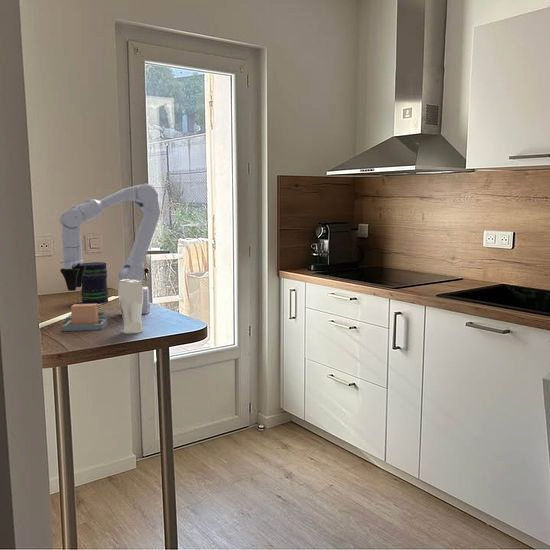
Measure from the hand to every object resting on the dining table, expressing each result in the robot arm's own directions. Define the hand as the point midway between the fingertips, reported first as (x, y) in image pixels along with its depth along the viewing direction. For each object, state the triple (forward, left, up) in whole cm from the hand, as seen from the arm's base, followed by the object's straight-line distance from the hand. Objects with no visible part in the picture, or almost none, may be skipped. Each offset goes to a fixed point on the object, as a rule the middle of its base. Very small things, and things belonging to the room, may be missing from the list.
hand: (74, 288), depth 181 cm
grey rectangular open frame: (-4, +2, -10) cm, 11 cm away
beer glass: (-21, +23, -10) cm, 33 cm away
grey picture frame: (-6, +15, -10) cm, 19 cm away
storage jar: (0, -31, -10) cm, 33 cm away
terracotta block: (-6, +15, -10) cm, 19 cm away
